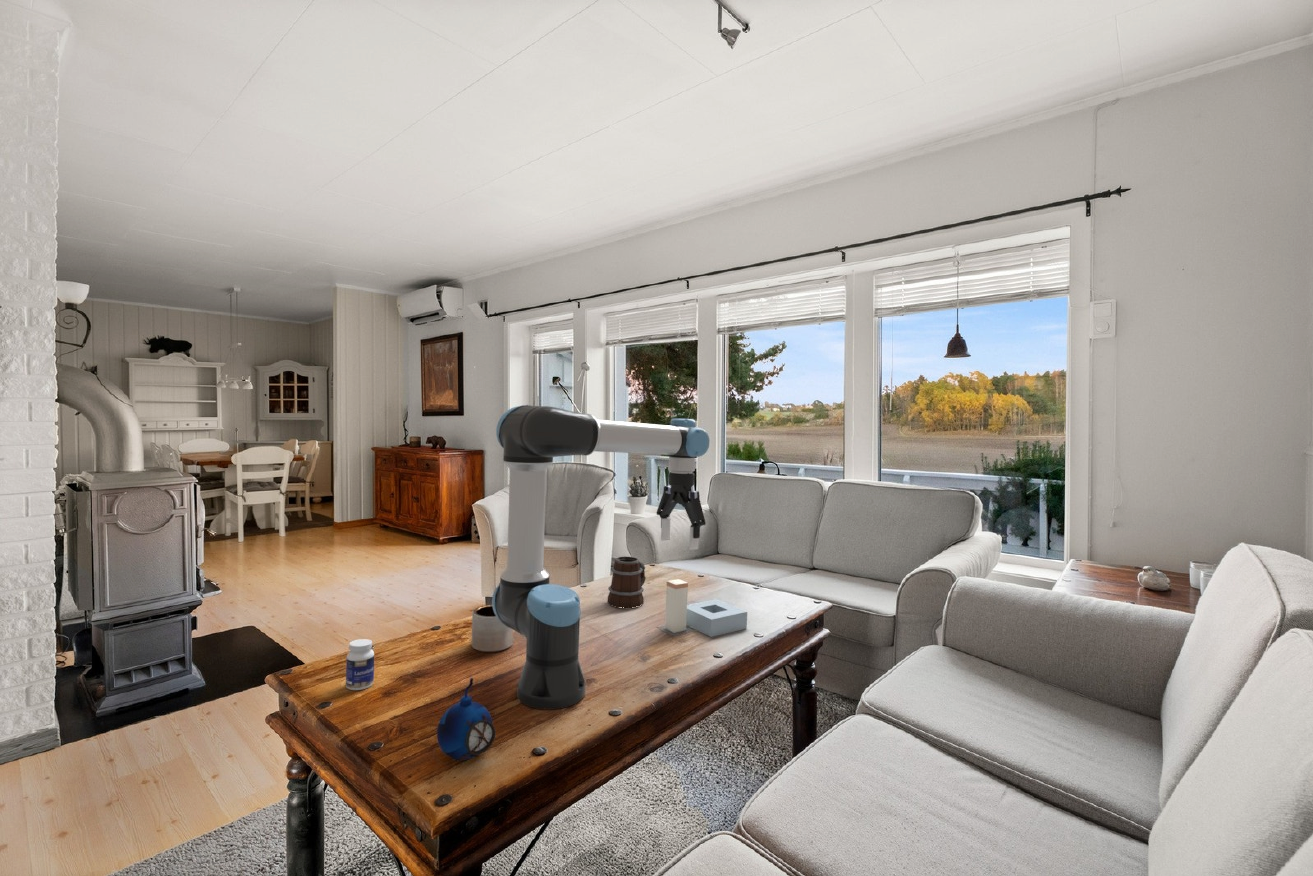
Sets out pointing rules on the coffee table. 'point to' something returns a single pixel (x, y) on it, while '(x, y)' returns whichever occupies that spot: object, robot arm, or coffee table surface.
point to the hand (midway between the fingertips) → (679, 544)
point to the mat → (676, 632)
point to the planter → (489, 631)
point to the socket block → (715, 617)
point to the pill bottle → (360, 665)
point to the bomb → (465, 729)
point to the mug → (627, 583)
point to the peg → (676, 605)
